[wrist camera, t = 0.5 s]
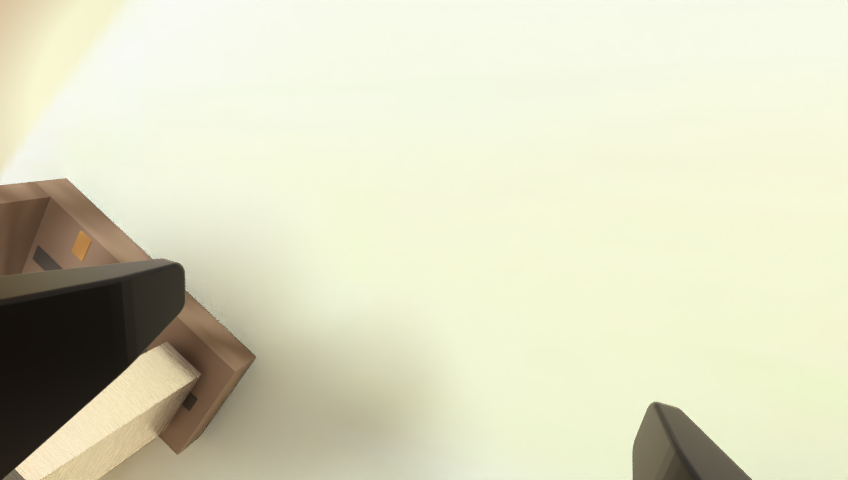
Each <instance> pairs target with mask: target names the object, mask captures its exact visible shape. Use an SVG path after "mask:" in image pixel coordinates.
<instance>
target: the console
mask: <svg viewBox="0 0 848 480" xmlns="http://www.w3.org/2000/svg"><path fill="white" fill-rule="evenodd" d="M144 260H152V259H151V258H150V257H149V256H148V255H147V254H146V253H145V252H144V251H143V250H142V249H141V248H140V247H139V246H138V245H136V244H135V243H134V242H133V241H132V240H131V239H130V238H129V237H128V236H127V235H126V234H125V233H124V232H123V231H122V230H120V229H119V228H118V227H117V226H116V225H115V224H114V223H113V222H112V221H111V220H110V219H109V218H108V217H107V216H106V215H105V214H103V213H102V212H101V211H100V210H99V209H98V208H97V207H96V206H95V205H94V204H93V203H92V202H91V201H90V200H89V199H88V198H86V197H85V196H84V195H83V194H82V193H81V192H80V191H79V190H78V189H77V188H76V187H75V186H74V185H73V184H72V183H70V182H69V181H68V180H67V179H66V178H65V179H56V180H46V181H37V182H27V183H18V184H9V185H0V276H5V275H14V274H23V273H33V272H42V271H51V270H61V269H70V268H79V267H88V266H98V265H107V264H116V263H126V262H135V261H144ZM185 294H186V301H185V305H184V308H183V310H182V311H181V312H180V314H179V315H178V316H177V317H176V318H175V319H174V320H173V321H172V322H171V323H170V324H169V325H168V326H167V328H166V329H165V330H164V331H163V332H162V333H161V334H160V335H159V336H158V337H157V338H156V339H155V340H154V341H153V342H152V343H151V345H150V346H149V347H148V348H147V349H146V350H145V351H144V352H143V353H142V354H144V353H146V352H148V351H150V350H152V349H153V348H155V347H157V346H159V345H161V344H163V343H165V342H168V343H169V344H170V345H171V346H173V347H174V348H175V349H176V350H177V351H178V352H179V353H180V354H181V355H182V356H183V357H184V358H185V359H186V360H187V361H188V362H189V363H190V364H191V365H192V366H193V367H194V368H195V369H196V370H198V371H199V372H200V373H201V376H200V378H199V379H198V381H197V382H196V384H195V385H194V387H193V388H192V390H191V391H190V393H189V394H188V396H187V397H186V399H185V400H184V402H183V403H182V405H181V406H180V408H179V409H178V411H177V412H176V414H175V416H174V417H173V419H172V420H171V422H170V423H169V425H168V426H167V428H166V429H165V431H164V432H162V433H161V434H159V435H158V436H159V437H160V438H161V439H162V440H163V441H164V442H165V443H166V444H167V445H168V446H169V447H170V448H171V449H172V450H173V451H174V452H175V453H176V454H177V455H178V454H179V453H180V452H181V451H183V450H184V449H185V448H186V447H188V446H189V445H190V444H191V443H193V442H194V441H195V440H196V439H197V438H199V437H200V435H201V434H202V433H203V431H204V430H205V428H206V427H207V426H208V424H209V423H210V421H211V420H212V419H213V417H214V416H215V414H216V413H217V411H218V410H219V409H220V407H221V406H222V404H223V403H224V402H225V400H226V399H227V397H228V396H229V395H230V393H231V392H232V390H233V389H234V388H235V386H236V385H237V383H238V382H239V381H240V379H241V378H242V376H243V375H244V374H245V372H246V371H247V369H248V368H249V366H250V365H251V364H252V362H253V361H254V359H255V358H256V356H255V355H254V354H252V353H251V352H250V351H249V350H248V349H247V348H246V347H245V346H244V345H243V344H242V343H241V342H240V341H239V340H238V339H236V338H235V337H234V336H233V335H232V334H231V333H230V332H229V331H228V330H227V329H226V328H225V327H224V326H223V325H222V324H221V323H219V322H218V321H217V320H216V319H215V318H214V317H213V316H212V315H211V314H210V313H209V312H208V311H207V310H206V309H205V308H204V307H202V306H201V305H200V304H199V303H198V302H197V301H196V300H195V299H194V298H193V297H192V296H191V295H190V294H189V293H188V292H186V291H185ZM142 354H141V355H142Z"/></svg>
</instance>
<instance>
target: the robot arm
mask: <svg viewBox="0 0 848 480" xmlns="http://www.w3.org/2000/svg"><path fill="white" fill-rule="evenodd" d="M185 301H186V294H185V271H184V268H183V266H182V265H181V264H180V263H177V262H173V261H170V260H167V259H154V260H144V261H135V262H126V263H116V264H107V265H98V266H88V267H79V268H70V269H61V270H51V271H42V272H33V273H23V274H14V275H5V276H0V480H3V479H4V478H5V477H6V476H7V475H9V474H10V473H11V472H12V471H13V470H14V469H15V468H16V467H18V466H19V465H20V464H21V463H22V462H23V461H24V460H25V459H27V458H28V457H29V456H30V455H31V454H32V453H33V452H34V451H36V450H37V449H38V448H39V447H40V446H41V445H42V444H43V443H45V442H46V441H47V440H48V439H49V438H50V437H51V436H52V435H54V434H55V433H56V432H57V431H58V430H59V429H60V428H61V427H63V426H64V425H65V424H66V423H67V422H68V421H69V420H70V419H72V418H73V417H74V416H75V415H76V414H77V413H78V412H79V411H81V410H82V409H83V408H84V407H85V406H86V405H87V404H88V403H90V402H91V401H92V400H93V399H94V398H95V397H96V396H97V395H99V394H100V393H101V392H102V391H103V390H104V389H105V388H106V387H108V386H109V385H110V384H111V383H112V382H113V381H114V380H115V379H117V378H118V377H119V376H120V375H121V374H122V373H123V372H124V371H125V370H126V369H127V368H128V367H129V366H130V365H131V364H132V363H133V362H134V361H135V360H136V359H137V358H138V357H139V356H140V355H141V354H142V353H143V352H144V351H145V350H146V349H147V348H148V347H149V346H150V345H151V343H152V342H153V341H154V340H155V339H156V338H157V337H158V336H159V335H160V334H161V333H162V332H163V331H164V330H165V329H166V328H167V326H168V325H169V324H170V323H171V322H172V321H173V320H174V319H175V318H176V317H177V316H178V315H179V314H180V312H181V311H182V310H183V308H184V305H185ZM632 457H633V480H752V479H751V478H750V477H749V476H748V475H747V474H746V473H745V472H744V471H743V470H742V469H741V468H740V467H739V466H738V465H737V464H736V463H735V462H734V461H732V460H731V459H730V458H729V457H728V456H727V455H726V454H725V453H724V452H723V451H722V450H721V449H720V448H719V447H718V446H717V445H716V444H715V443H714V442H713V441H712V440H711V439H710V438H709V437H708V436H707V435H706V434H705V433H704V432H703V431H702V430H701V429H700V428H699V427H698V426H697V425H696V424H695V423H694V422H693V421H692V420H691V419H690V418H689V417H688V416H687V415H686V414H685V413H684V412H683V411H681V410H680V409H679V408H677V407H673V406H670V405H666V404H663V403H659V402H653V403H651V404H650V405H649V407H648V408H647V411H646V413H645V416H644V418H643V421H642V423H641V426H640V428H639V431H638V433H637V436H636V438H635V441H634V445H633V455H632Z"/></svg>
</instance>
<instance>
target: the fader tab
mask: <svg viewBox="0 0 848 480" xmlns="http://www.w3.org/2000/svg"><path fill="white" fill-rule="evenodd" d="M200 376H201V373H200V372H199V371H198V370H196V369H195V368H194V367H193V366H192V365H191V364H190V363H189V362H188V361H187V360H186V359H185V358H184V357H183V356H182V355H181V354H180V353H179V352H178V351H177V350H176V349H175V348H174V347H173V346H171V345H170V344H169V343H168V342H165V343H163V344H161V345H159V346H157V347H155V348H153V349H152V350H150V351H148V352H146V353H144V354H142V355H140V356H139V357H138V358H137V359H136V360H135V361H134V362H133V363H132V364H131V365H130V366H129V367H128V368H127V369H126V370H125V371H124V372H123V373H122V374H121V375H120V376H119V377H118V378H117V379H115V380H114V381H113V382H112V383H111V384H110V385H109V386H108V387H106V388H105V389H104V390H103V391H102V392H101V393H100V394H99V395H97V396H96V397H95V398H94V399H93V400H92V401H91V402H90V403H88V404H87V405H86V406H85V407H84V408H83V409H82V410H81V411H79V412H78V413H77V414H76V415H75V416H74V417H73V418H72V419H70V420H69V421H68V422H67V423H66V424H65V425H64V426H63V427H61V428H60V429H59V430H58V431H57V432H56V433H55V434H54V435H52V436H51V437H50V438H49V439H48V440H47V441H46V442H45V443H43V444H42V445H41V446H40V447H39V448H38V449H37V450H36V451H34V452H33V453H32V454H31V455H30V456H29V457H28V458H27V459H25V460H24V461H23V462H22V463H21V464H20V465H19V466H18V467H16V468H15V469H14V470H13V471H12V472H11V473H10V474H9V475H7V476H6V477H5V478H4V479H3V480H98V479H99V478H100V477H102V476H103V475H105V474H106V473H107V472H109V471H110V470H111V469H113V468H114V467H116V466H117V465H118V464H120V463H121V462H122V461H124V460H125V459H127V458H128V457H129V456H131V455H132V454H133V453H135V452H136V451H138V450H139V449H140V448H142V447H143V446H144V445H146V444H147V443H149V442H150V441H151V440H153V439H154V438H155V437H157V436H158V435H159V434H161V433H162V432H164V431H165V429H166V428H167V426H168V425H169V423H170V422H171V420H172V419H173V417H174V416H175V414H176V412H177V411H178V409H179V408H180V406H181V405H182V403H183V402H184V400H185V399H186V397H187V396H188V394H189V393H190V391H191V390H192V388H193V387H194V385H195V384H196V382H197V381H198V379H199V378H200Z"/></svg>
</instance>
